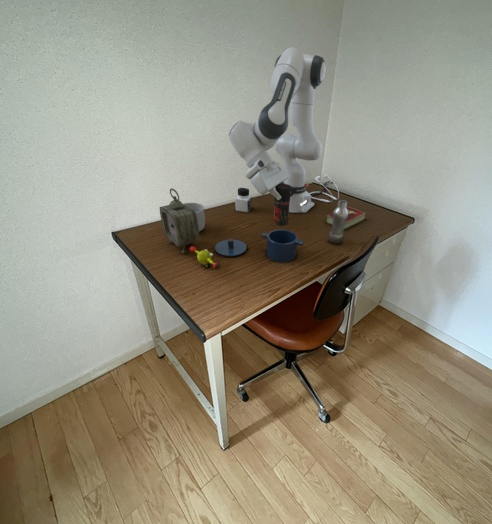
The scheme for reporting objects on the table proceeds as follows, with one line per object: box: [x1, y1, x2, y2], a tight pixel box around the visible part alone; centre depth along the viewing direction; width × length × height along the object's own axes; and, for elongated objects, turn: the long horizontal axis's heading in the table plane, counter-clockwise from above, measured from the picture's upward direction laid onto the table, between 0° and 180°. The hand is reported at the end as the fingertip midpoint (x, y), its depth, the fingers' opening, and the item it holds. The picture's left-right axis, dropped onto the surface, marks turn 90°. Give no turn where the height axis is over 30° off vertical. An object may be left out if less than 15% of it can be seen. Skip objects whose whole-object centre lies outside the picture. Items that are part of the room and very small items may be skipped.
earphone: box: [308, 173, 340, 204], centre depth 172 cm, size 14×17×18 cm
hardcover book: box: [325, 206, 367, 231], centre depth 145 cm, size 12×21×4 cm, turn 136°
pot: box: [260, 229, 305, 263], centre depth 112 cm, size 12×18×8 cm
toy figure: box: [188, 245, 221, 270], centre depth 101 cm, size 18×6×7 cm, turn 48°
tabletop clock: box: [159, 188, 200, 255], centre depth 107 cm, size 14×9×25 cm, turn 45°
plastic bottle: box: [328, 199, 348, 245], centre depth 121 cm, size 6×7×20 cm
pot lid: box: [214, 238, 248, 257], centre depth 113 cm, size 13×13×5 cm
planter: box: [182, 202, 206, 233], centre depth 124 cm, size 12×12×11 cm
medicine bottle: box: [234, 186, 253, 213], centre depth 146 cm, size 7×7×12 cm
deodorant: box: [272, 184, 291, 227], centre depth 104 cm, size 6×6×15 cm
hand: (284, 195), depth 102 cm, fingers closed on deodorant, 6 cm apart
